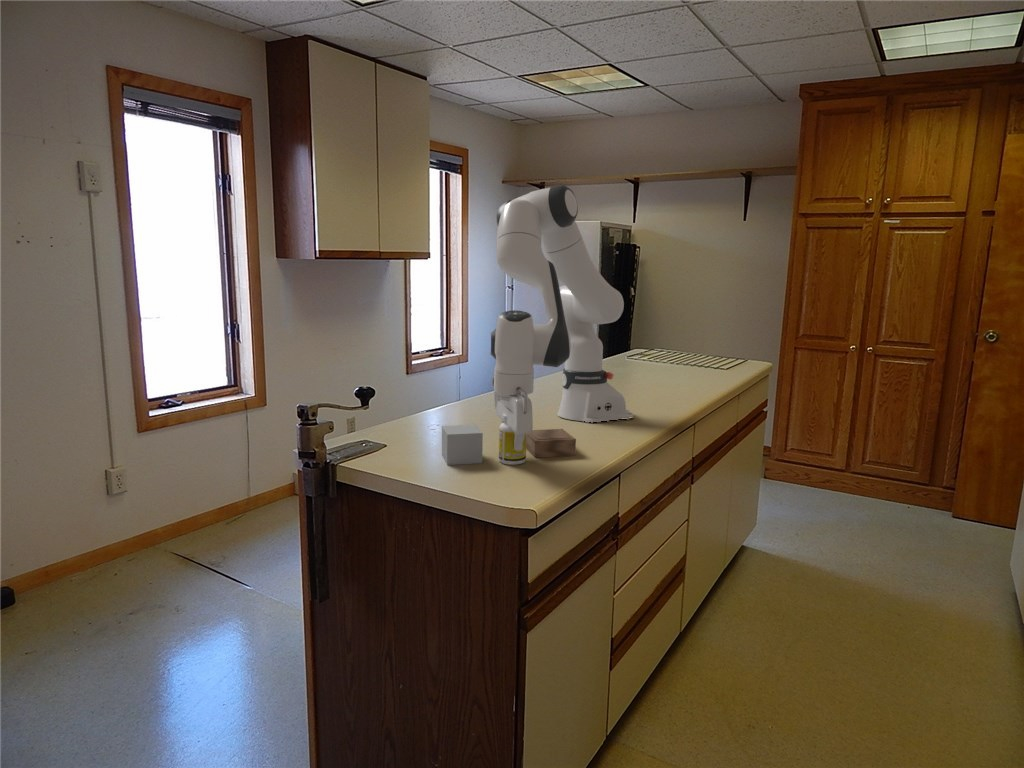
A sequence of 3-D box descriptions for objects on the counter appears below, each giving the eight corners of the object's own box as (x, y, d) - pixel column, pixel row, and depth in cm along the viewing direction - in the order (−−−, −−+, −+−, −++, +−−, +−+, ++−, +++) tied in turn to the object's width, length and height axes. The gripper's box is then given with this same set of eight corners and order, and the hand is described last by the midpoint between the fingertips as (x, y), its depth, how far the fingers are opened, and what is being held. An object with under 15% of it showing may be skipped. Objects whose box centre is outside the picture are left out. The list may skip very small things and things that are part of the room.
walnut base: (561, 444, 166) (562, 428, 166) (575, 455, 157) (575, 438, 156) (523, 446, 164) (523, 429, 163) (534, 457, 154) (535, 440, 154)
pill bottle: (531, 461, 151) (532, 414, 149) (513, 467, 147) (514, 418, 145) (511, 456, 155) (512, 410, 153) (493, 461, 151) (493, 414, 149)
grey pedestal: (475, 453, 157) (475, 424, 156) (482, 463, 149) (482, 433, 148) (441, 454, 155) (441, 425, 154) (447, 465, 147) (447, 434, 146)
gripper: (540, 392, 139) (538, 456, 141) (515, 376, 158) (514, 432, 161) (511, 393, 137) (510, 457, 140) (490, 376, 157) (489, 433, 159)
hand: (512, 443), depth 150 cm, fingers open, 8 cm apart
